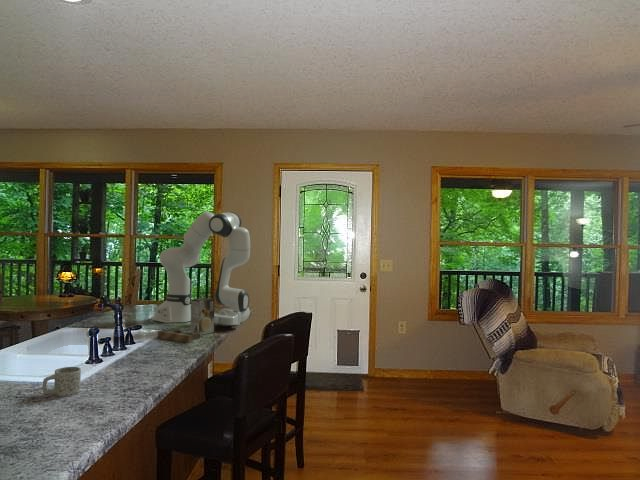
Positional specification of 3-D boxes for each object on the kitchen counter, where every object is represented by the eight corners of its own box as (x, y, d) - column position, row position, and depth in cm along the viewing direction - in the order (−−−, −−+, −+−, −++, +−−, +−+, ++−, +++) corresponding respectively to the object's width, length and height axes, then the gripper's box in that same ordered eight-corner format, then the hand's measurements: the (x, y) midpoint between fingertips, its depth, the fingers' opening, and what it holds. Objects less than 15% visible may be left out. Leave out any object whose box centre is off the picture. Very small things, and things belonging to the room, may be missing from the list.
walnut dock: (157, 337, 211) (157, 331, 211) (173, 334, 220) (173, 327, 220) (189, 343, 203) (189, 336, 203) (204, 338, 212) (204, 332, 212)
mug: (74, 387, 142) (74, 365, 142) (84, 392, 138) (84, 370, 138) (37, 395, 134) (38, 372, 134) (47, 401, 130) (47, 377, 130)
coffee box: (205, 330, 229) (206, 297, 229) (214, 332, 225) (215, 298, 225) (189, 333, 222) (190, 299, 222) (198, 335, 218) (199, 300, 218)
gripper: (210, 308, 245) (192, 312, 232) (243, 312, 236) (226, 316, 223) (209, 320, 245) (191, 325, 232) (242, 325, 236) (225, 329, 224)
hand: (208, 320), depth 228 cm, fingers closed
